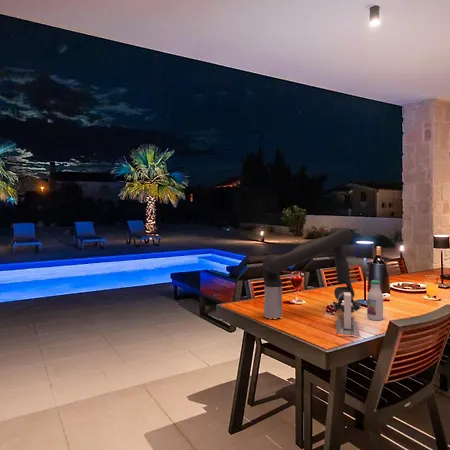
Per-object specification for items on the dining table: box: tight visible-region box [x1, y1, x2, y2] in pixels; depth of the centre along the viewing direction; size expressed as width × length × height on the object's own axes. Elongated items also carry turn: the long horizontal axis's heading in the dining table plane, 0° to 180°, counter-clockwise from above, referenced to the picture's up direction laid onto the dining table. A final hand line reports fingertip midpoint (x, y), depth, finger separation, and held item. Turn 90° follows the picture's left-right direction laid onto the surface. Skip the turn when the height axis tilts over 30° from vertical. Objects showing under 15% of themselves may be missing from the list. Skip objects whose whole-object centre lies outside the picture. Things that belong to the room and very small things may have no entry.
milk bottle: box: [366, 279, 384, 321], centre depth 208 cm, size 8×8×20 cm
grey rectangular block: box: [343, 292, 352, 329], centre depth 191 cm, size 3×6×16 cm, turn 166°
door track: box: [335, 315, 361, 337], centre depth 192 cm, size 10×20×4 cm, turn 166°
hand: (347, 310), depth 189 cm, fingers closed on grey rectangular block, 3 cm apart
